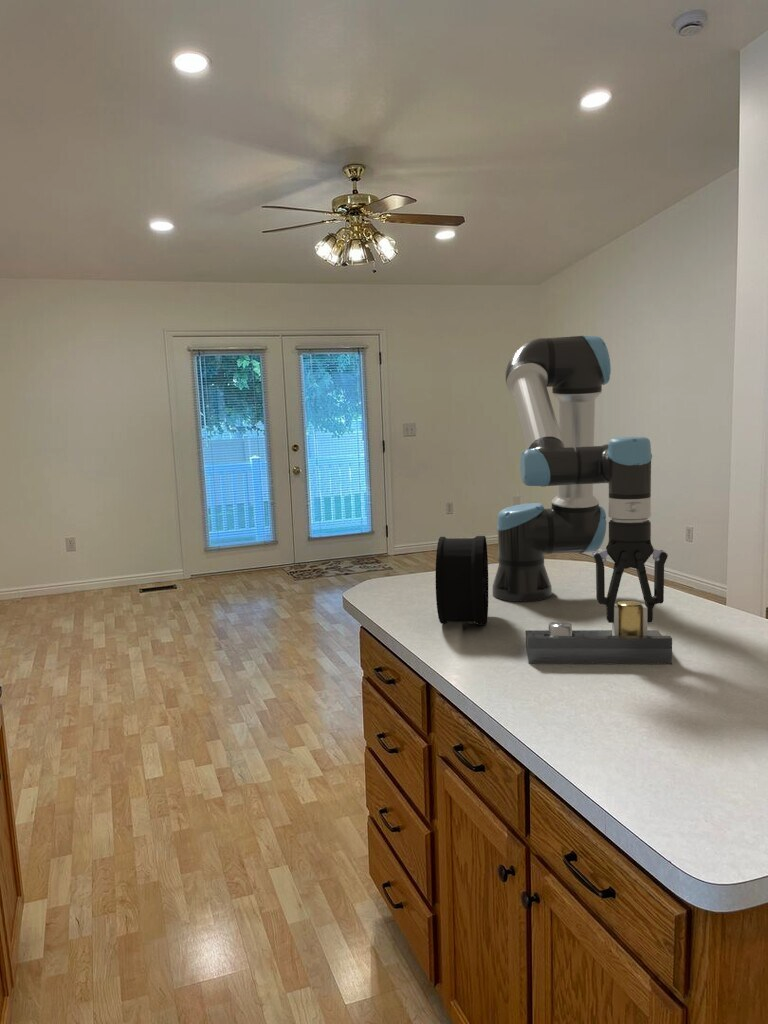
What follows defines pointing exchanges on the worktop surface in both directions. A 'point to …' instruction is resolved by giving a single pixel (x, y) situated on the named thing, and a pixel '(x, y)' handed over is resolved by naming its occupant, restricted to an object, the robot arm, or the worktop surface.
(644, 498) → the robot arm
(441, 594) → the car wheel rim
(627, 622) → the gold metal cylinder
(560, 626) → the silver metal cylinder
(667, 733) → the worktop surface
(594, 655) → the jig
